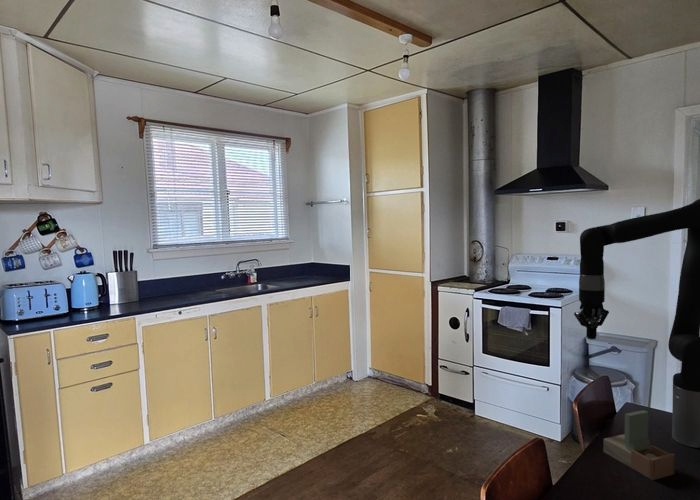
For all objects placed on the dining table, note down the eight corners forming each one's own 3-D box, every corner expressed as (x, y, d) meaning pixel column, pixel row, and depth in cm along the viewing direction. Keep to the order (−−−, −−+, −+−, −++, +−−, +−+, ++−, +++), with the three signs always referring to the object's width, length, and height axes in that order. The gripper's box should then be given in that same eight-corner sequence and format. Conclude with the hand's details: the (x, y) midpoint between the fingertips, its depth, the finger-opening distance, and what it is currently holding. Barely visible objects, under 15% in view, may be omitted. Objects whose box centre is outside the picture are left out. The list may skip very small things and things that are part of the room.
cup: (652, 462, 123) (652, 443, 123) (674, 474, 117) (675, 454, 117) (630, 467, 121) (631, 448, 121) (652, 480, 115) (652, 460, 115)
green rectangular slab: (643, 443, 125) (643, 409, 125) (651, 447, 123) (651, 413, 122) (624, 448, 123) (624, 413, 123) (632, 452, 121) (632, 417, 120)
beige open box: (624, 446, 132) (624, 434, 132) (652, 462, 123) (652, 448, 123) (603, 451, 130) (603, 438, 129) (630, 467, 121) (631, 453, 121)
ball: (667, 465, 117) (657, 470, 120) (656, 450, 120) (647, 455, 123) (656, 467, 116) (646, 473, 119) (645, 452, 119) (636, 458, 121)
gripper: (584, 290, 140) (584, 343, 141) (616, 287, 144) (616, 339, 145) (567, 287, 147) (567, 338, 148) (597, 284, 151) (597, 334, 152)
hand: (591, 338), depth 147 cm, fingers closed
